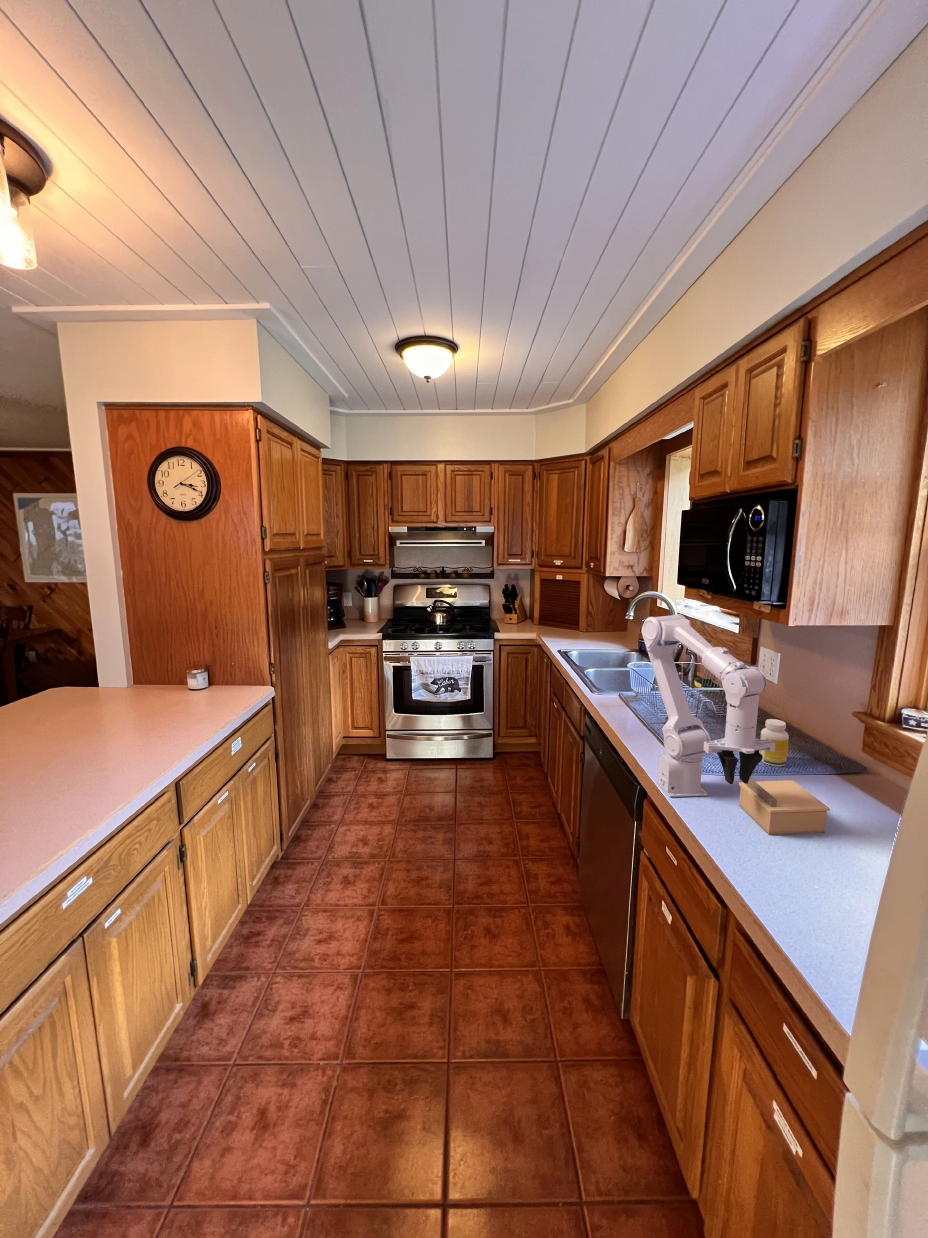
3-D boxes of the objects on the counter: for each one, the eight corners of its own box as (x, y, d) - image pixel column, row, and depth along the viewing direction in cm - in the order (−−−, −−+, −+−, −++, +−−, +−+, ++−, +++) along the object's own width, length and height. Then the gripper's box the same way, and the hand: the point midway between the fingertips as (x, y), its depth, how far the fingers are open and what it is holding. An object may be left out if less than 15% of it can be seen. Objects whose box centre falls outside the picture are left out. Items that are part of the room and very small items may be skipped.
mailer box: (768, 835, 105) (770, 813, 104) (739, 806, 116) (740, 786, 115) (824, 832, 105) (826, 811, 104) (789, 804, 116) (791, 784, 115)
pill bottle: (790, 768, 132) (794, 727, 130) (763, 766, 134) (767, 726, 131) (780, 757, 139) (784, 718, 136) (755, 756, 140) (758, 717, 138)
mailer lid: (770, 813, 103) (771, 804, 103) (738, 784, 115) (739, 776, 114) (829, 810, 104) (830, 801, 103) (792, 782, 115) (793, 774, 115)
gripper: (717, 732, 102) (712, 792, 104) (786, 729, 102) (780, 790, 105) (700, 719, 109) (696, 775, 111) (765, 716, 109) (760, 773, 111)
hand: (736, 781), depth 108 cm, fingers open, 3 cm apart
